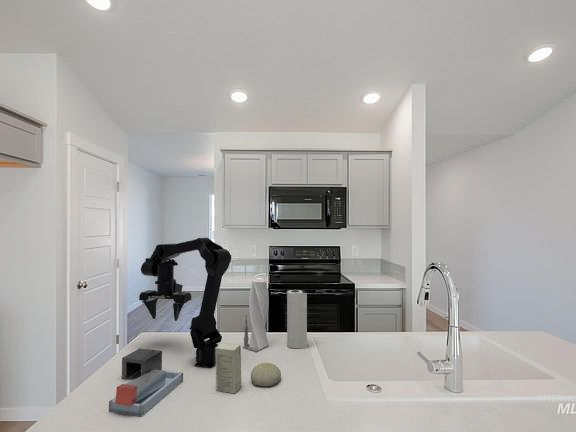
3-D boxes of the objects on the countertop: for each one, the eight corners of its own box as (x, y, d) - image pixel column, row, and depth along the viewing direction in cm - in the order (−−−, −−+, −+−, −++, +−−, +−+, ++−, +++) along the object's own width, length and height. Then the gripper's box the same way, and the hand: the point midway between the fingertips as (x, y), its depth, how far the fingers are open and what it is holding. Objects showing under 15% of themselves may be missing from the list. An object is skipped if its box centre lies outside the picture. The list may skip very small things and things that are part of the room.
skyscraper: (257, 341, 131) (257, 272, 132) (273, 346, 126) (273, 274, 127) (242, 348, 124) (243, 274, 125) (258, 353, 119) (259, 276, 120)
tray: (183, 381, 98) (183, 372, 98) (141, 416, 80) (141, 406, 80) (155, 377, 100) (155, 369, 100) (108, 411, 82) (108, 401, 82)
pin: (165, 384, 94) (167, 370, 95) (130, 406, 80) (132, 388, 80) (152, 383, 95) (153, 368, 96) (115, 403, 81) (116, 386, 81)
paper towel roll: (284, 344, 128) (284, 290, 128) (298, 342, 130) (298, 288, 131) (292, 351, 121) (292, 293, 122) (306, 348, 124) (306, 292, 124)
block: (161, 370, 105) (162, 350, 105) (145, 382, 97) (145, 360, 98) (139, 367, 107) (139, 348, 107) (121, 379, 99) (122, 358, 100)
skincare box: (241, 386, 95) (242, 344, 95) (234, 394, 91) (234, 350, 91) (222, 383, 97) (222, 342, 97) (214, 390, 93) (214, 347, 93)
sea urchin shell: (289, 373, 99) (276, 360, 95) (276, 398, 95) (261, 386, 91) (268, 364, 106) (255, 351, 102) (255, 388, 101) (241, 376, 97)
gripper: (199, 275, 126) (198, 315, 126) (157, 273, 131) (156, 312, 130) (183, 279, 116) (182, 324, 115) (138, 277, 120) (137, 320, 120)
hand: (165, 319), depth 120 cm, fingers open, 9 cm apart
